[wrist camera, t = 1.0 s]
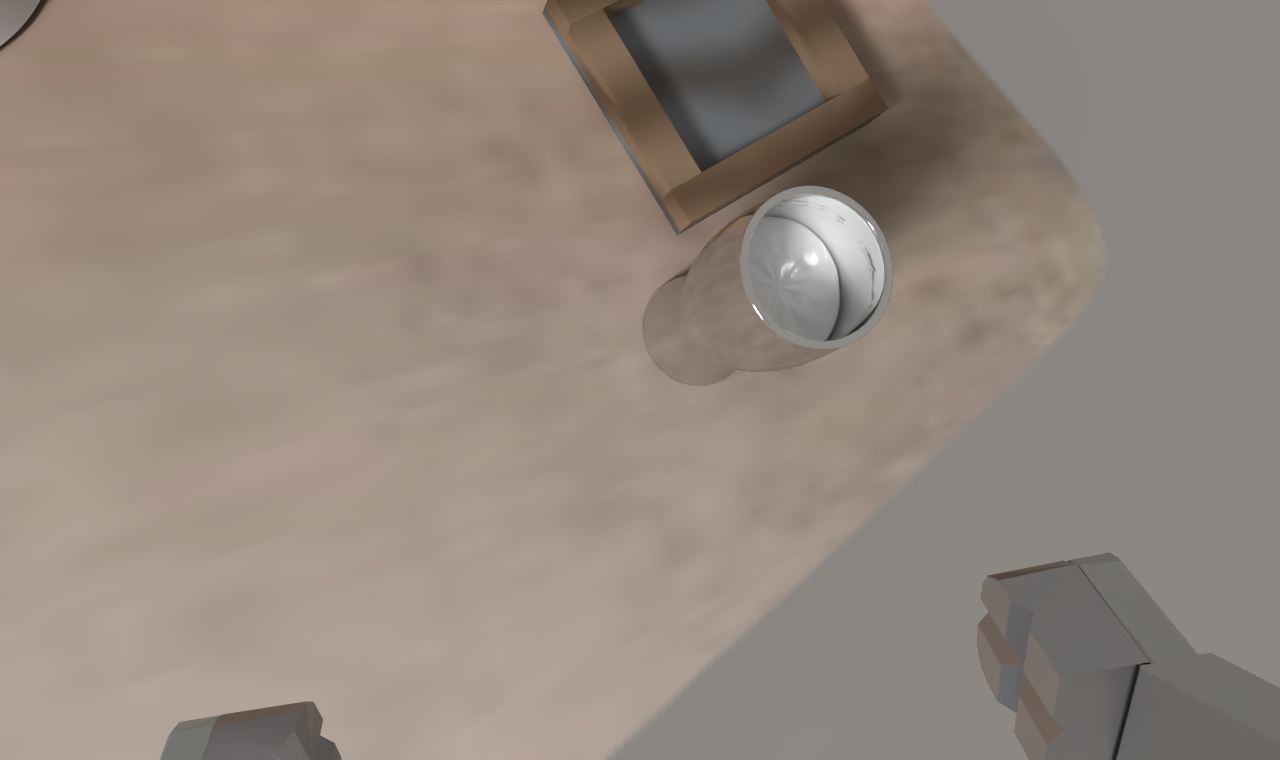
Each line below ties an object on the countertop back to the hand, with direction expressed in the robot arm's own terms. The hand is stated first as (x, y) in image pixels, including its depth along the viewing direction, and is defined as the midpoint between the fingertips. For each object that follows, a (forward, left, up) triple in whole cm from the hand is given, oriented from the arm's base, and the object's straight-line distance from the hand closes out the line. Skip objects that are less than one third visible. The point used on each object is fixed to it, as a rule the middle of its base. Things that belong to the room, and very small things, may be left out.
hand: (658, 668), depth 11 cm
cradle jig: (-14, +26, -36) cm, 46 cm away
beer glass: (-2, +17, -36) cm, 40 cm away
